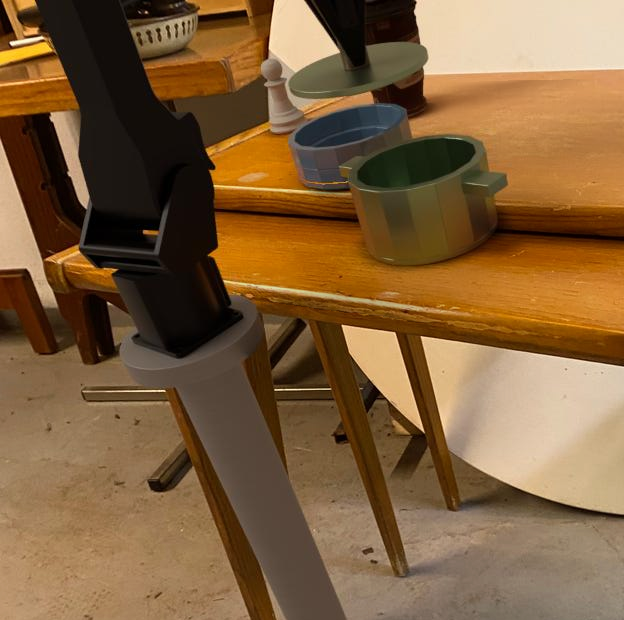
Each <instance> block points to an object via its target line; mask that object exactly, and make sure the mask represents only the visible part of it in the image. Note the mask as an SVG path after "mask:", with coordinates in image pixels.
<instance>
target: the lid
mask: <svg viewBox="0 0 624 620" xmlns="http://www.w3.org/2000/svg"><path fill="white" fill-rule="evenodd" d="M337 43H338V42H337ZM338 47H339V50H338V51H339V52H337V53H334V54H332V55H329V56H326V57H323V58H321V59H318V60H315V61H314V62H312V63H310V64H307V65H306V66H304V67H302V68H301V69H299V70H298V71H296V72H295V73H294V74H293V75H292V76H291V77H289V79H288V82H287V83H288V88H289V92H290V93H291V94H292V95H293V96H295V97H297V98H301V99H306V100H326V99H327V100H328V99H336V98H344V97H351V96H357V95H362V94H366V93H369V92H370V91H373V90H376V89H379V88H382V87H384V86H387V85H389V84H392V83H395V82H397V81H399V80H402V79H404V78H406V77H408V76H410V75H412V74H413V73H415V72H417V71H418V70H419V69H421V68H422V67H423V68H424V66H425V65H426V64H427V63H428V61H429V52H428V49H427V47H426V46H424V45H423V44H417V43H411V42H391V43H381V44H374V45H369V46H366V43H365V47H366V63H365V64H364V65H361V66H358V67H354V66H353V65H352V63H351V62H350V60H349V59H348V57H347V56H346V54H345V53H344V51H343V50H342V48H341V46H340V45H339V43H338ZM370 93H371V92H370Z"/></svg>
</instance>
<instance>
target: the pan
mask: <svg viewBox="0 0 624 620" xmlns="http://www.w3.org/2000/svg"><path fill="white" fill-rule="evenodd" d="M410 139H414V138H413V133H412V128H411V124H410V121H409V117H408V115H407V111H406V109H405V108H403V107H401V106H399V105H396V104H385V103H374V102H373V103H365V104H358V105H353V106H349V107H343V108H339V109H336V110H332V111H330V112H327V113H324V114H321V115H319V116H315V117H314V118H312V119H310V120H308V121H307V122H306V123H305V124H303V125H301V126H299V127H298V128H297V129H296V130H295V131H293V132H290V134H289V135H288V141H287V144H288V148H289V150H290V154H291V157H292V160H293V163H294V166H295V170H296V172H297V176H298V179H299V182H301V183H303V184H304V185H305V186H307V187H308V188H313V189H314V188H315V189H321V190H326V191H340V190H350V187H349V184H348V182H347V183H338V184H325V185H322V184H315V183H308V182H306V181H309V182H318V183H333V182H346V181H348V178H346V177H342V176H341V173H340V170H339V166H340V165H342V164H344V163H345V162H347V161H349V160H351V159H352V158H354V157H356V156H362V157H366V156H368V155H369V154H371V153H373V152H375V151H377V150H379V149H382V148H384V147H387V146H390V145H392V144H395V143H398V142H401V141H405V140H410ZM301 178H302V179H301ZM303 179H304V180H305V181H304V180H303Z"/></svg>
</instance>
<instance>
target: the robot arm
mask: <svg viewBox="0 0 624 620" xmlns="http://www.w3.org/2000/svg"><path fill="white" fill-rule="evenodd" d="M303 1H304V2H305V4H306V5H307V7H308V8H309V9H310V11H311V12H312V14H313V15H314V16H315V18H316V19H317V21H318V22H319V24H320V25H321V27H322V28H323V30H324V31H325V32H326V34H327V35H328V36H329V39H331V41H332V42H333V44H334V45H335V47H336V48H337V50H338V51H339V47H338V43H339V45H340V46H341V48H342V50H343V51H344V53H345V54H346V56H347V57H348V59H349V60H350V62H351V63H352V65H353V66H354V67H358V66H361V65H364V64H365V63H366V47H365V1H366V0H303ZM34 3H35V5H36V7H37V10H38V12H39V14H40V17H41V19H42V22H43V24H44V26H45V29H46V31H47V34H48V36H49V38H50V41H51V43H52V46H53V48H54V50H55V53H56V55H57V57H58V60H59V62H60V64H61V67H62V70H63V72H64V74H65V76H66V79H67V81H68V84H69V87H70V89H71V92H72V93H73V95H74V98H75V101H76V103H77V106H78V109H79V112H80V125H79V140H78V151H77V157H78V161H79V165H80V167H81V168H80V169H81V172H82V175H83V179H84V182H85V186H86V189H87V193H88V202H87V206H86V210H85V215H84V220H83V225H82V229H81V233H80V239H79V242H78V247H77V248H78V251H79V253H81V255H82V256H83V257H84V258H85V259H86V261H88V262H89V263H90V264H91V265H92V266H93V267H94V268H95V269H98V270H103V269H109V270H115V271H114V272H112V273H111V274H110V276H111V278H112V280H113V283H114V285H115V287H116V289H117V290H118V294H119V295H120V297H121V299H122V301H123V303H124V306H125V307H126V309H127V312H128V313H129V315H130V318H131V319H132V322H133V324H134V326H135V327H136V328H137V330H138V333H136V334H135V335H133V336H132V337H131V339H132V341H133V343H134V344H137V345H139V346H142V347H145V348H148V349H151V350H153V351H156V352H159V353H162V354H165V355H167V356H170V357H173V358H176V359H181V358H184V357H186V356H187V355H189V354H190V353H192V352H193V351H195V350H196V349H198V348H199V347H201V346H202V345H204V344H205V343H207V342H208V341H210V340H212V339H213V338H215V337H216V336H218V335H219V334H221V333H222V332H224V331H225V330H227V329H228V328H230V327H231V326H233V325H234V324H236V323H237V322H239V321H240V320H242V319H243V318H244V316H243V313H242V311H239V310H236V309H232V308H229V306H231V303H232V301H231V299H230V296H229V291H228V289H227V287H226V284H225V281H224V279H223V276H222V274H221V271H220V269H219V266H218V264H217V261H216V259H215V257H213V256H212V255H211V256H210V254H212V253H213V252H214V251H216V250H217V249H218V248H219V237H218V231H217V222H216V212H215V211H216V210H215V203H214V201H215V199H216V194H215V193H216V192H215V191H216V190H215V185H214V180H213V175H212V173H211V171H216V169H217V167H216V165H215V163H214V162H213V160H212V159H211V158H210V156H209V154H208V152H207V150H206V147H205V144H204V140H203V135H202V131H201V127H200V124H199V122H198V120H197V118H196V116H195V114H194V113H193V112H192V111H171V110H170V109H169V108H168V107H167V106H166V104H164V103H163V102H162V101H161V100H160V98H159V97H158V96H157V94H156V93H155V90H154V89H153V87H152V85H151V82H150V79H149V76H148V73H147V71H146V68H145V65H144V63H143V60H142V58H141V55H140V52H139V49H138V46H137V44H136V41H135V39H134V35H133V33H132V30H131V27H130V25H129V22H128V19H127V17H126V14H125V11H124V8H123V6H122V3H121V0H34ZM337 42H338V43H337ZM144 231H148V232H149V231H150V232H157V234H153V233H144Z"/></svg>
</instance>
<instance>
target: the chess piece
mask: <svg viewBox="0 0 624 620" xmlns="http://www.w3.org/2000/svg"><path fill="white" fill-rule="evenodd" d="M260 72H261V74H262V76H263V77H264V79H265V80H267V81H266V82H265V83H263V85H264V87H266V88H267V89H268V90H269V92H270V95H271V98H272V100H273V111H272V113H271V114H272V116H271V117H270V118H269V119H268V123H269V124H270V128H269V130H270V131H271V132H272V133H273V134H276V135H285V134H289V133H290V134H291V133H292V132H294V131H295V130H296V129H297V128H298V127H299V126H301V125H303V124H305V123H306V122H308V121H309V120H308V118H307V117H305V111H304V110H301V109H299V108H298V107H297V106H295V105H294V104H293V103H292V101H291V100H290V98H289V96H288V91H287V88H286V84H287V80H288V78H287V77H282V75H283V65H282V63H281V62H280V61H279V60H278V59H276V58H267V59H265V60H264V61H263V62H262V63H261V64H260Z"/></svg>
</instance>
